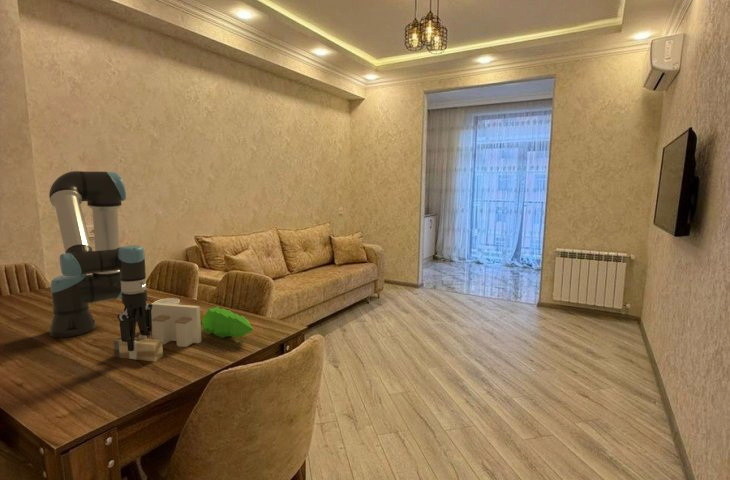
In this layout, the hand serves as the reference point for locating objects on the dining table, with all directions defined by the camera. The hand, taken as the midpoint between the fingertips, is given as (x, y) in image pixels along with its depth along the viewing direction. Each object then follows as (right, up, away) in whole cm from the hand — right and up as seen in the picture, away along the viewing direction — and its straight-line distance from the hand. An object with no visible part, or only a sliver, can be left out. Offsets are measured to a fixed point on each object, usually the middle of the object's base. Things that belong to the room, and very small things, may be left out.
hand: (138, 355), depth 139 cm
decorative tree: (+24, +2, +18) cm, 31 cm away
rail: (0, 0, 0) cm, 0 cm away
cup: (-4, +4, +29) cm, 30 cm away
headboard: (+6, +2, +13) cm, 14 cm away
